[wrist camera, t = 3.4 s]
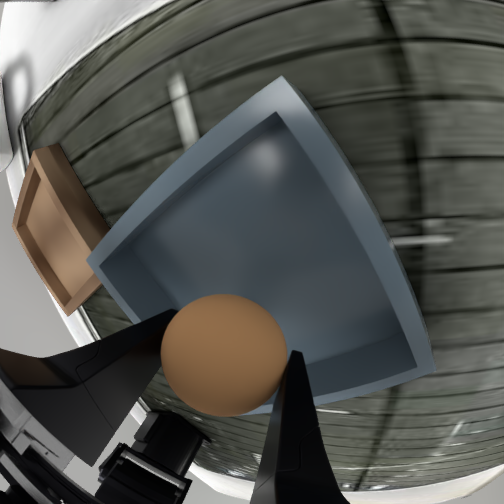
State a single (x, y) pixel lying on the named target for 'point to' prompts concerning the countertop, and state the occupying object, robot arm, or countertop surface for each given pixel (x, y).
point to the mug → (4, 134)
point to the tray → (59, 227)
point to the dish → (275, 247)
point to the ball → (224, 355)
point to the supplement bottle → (26, 0)
